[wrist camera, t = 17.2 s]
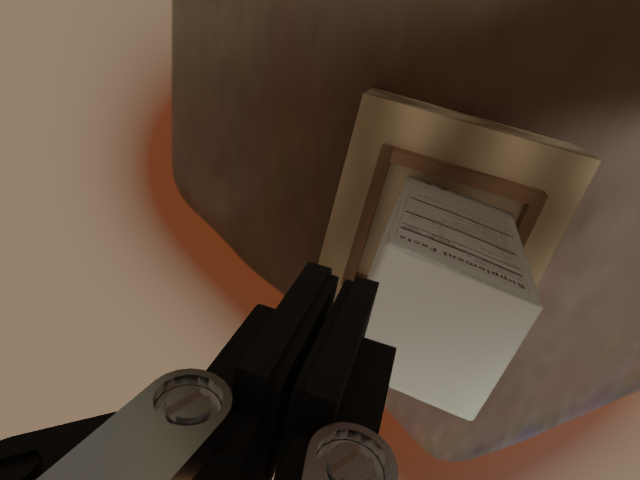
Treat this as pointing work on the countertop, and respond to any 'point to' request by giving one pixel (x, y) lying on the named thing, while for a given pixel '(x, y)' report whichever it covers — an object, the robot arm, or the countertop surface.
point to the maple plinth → (450, 177)
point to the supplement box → (450, 296)
